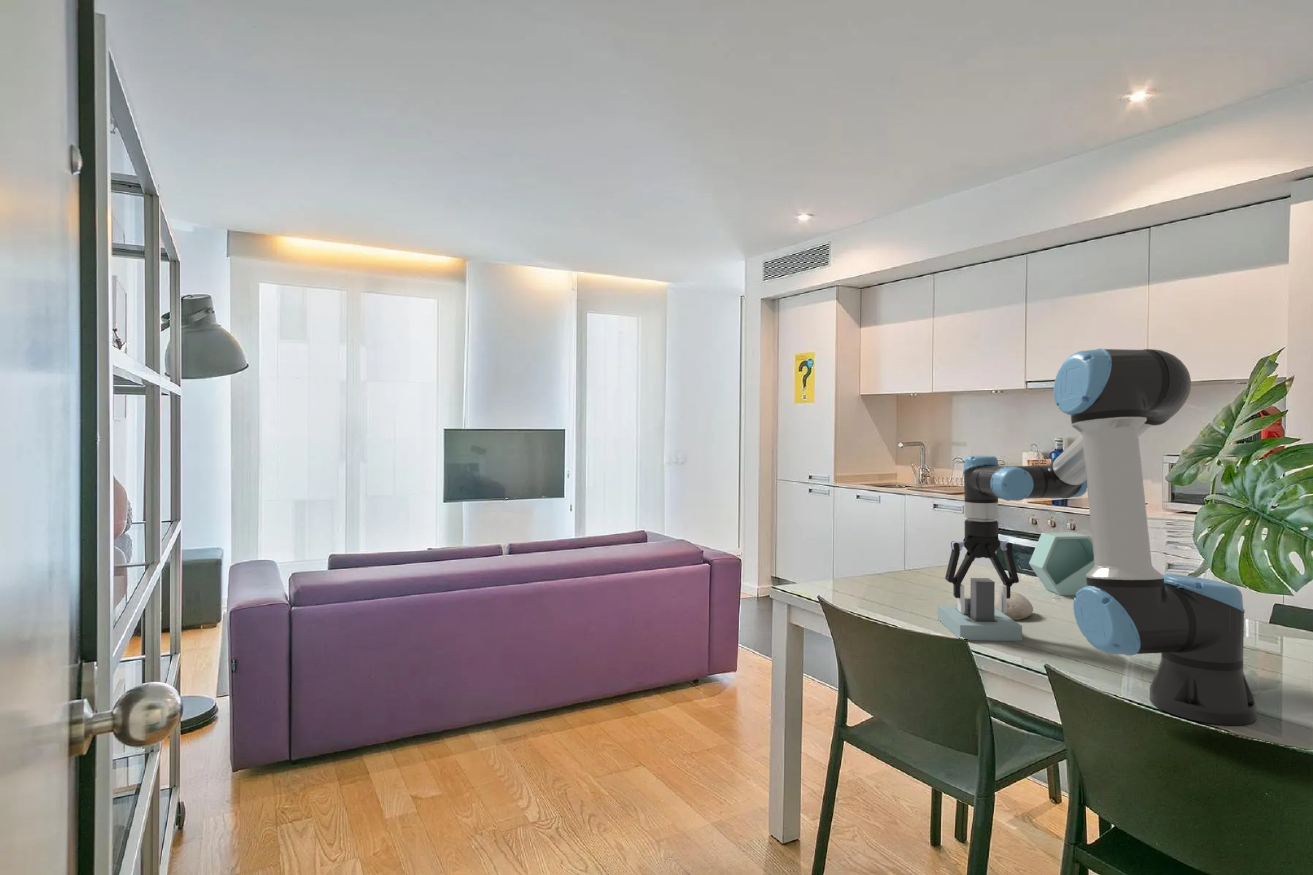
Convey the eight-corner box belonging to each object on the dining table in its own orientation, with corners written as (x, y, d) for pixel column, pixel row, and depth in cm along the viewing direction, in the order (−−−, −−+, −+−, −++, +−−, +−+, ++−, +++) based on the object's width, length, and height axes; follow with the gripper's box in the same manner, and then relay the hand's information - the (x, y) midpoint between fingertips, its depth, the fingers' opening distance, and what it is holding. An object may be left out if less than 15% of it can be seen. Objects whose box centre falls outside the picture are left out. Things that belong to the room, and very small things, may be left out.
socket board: (1022, 640, 169) (1022, 625, 169) (960, 639, 170) (960, 625, 170) (993, 620, 187) (993, 606, 187) (937, 619, 188) (937, 606, 188)
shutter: (991, 614, 178) (991, 598, 178) (963, 613, 179) (963, 598, 179) (981, 607, 185) (981, 592, 185) (954, 606, 186) (954, 592, 185)
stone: (1005, 638, 187) (1022, 616, 183) (974, 610, 193) (989, 589, 189) (1028, 624, 195) (1045, 603, 190) (997, 598, 201) (1012, 578, 196)
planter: (1070, 610, 212) (1031, 552, 212) (1056, 604, 220) (1018, 548, 219) (1118, 578, 212) (1079, 520, 211) (1102, 573, 220) (1064, 517, 219)
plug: (994, 635, 173) (994, 581, 173) (976, 635, 173) (976, 581, 173) (987, 630, 177) (988, 578, 177) (970, 630, 178) (970, 577, 177)
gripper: (1021, 517, 178) (1022, 607, 178) (930, 517, 180) (931, 606, 180) (1034, 521, 170) (1035, 615, 170) (939, 521, 172) (940, 614, 173)
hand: (981, 611), depth 175 cm, fingers open, 9 cm apart
